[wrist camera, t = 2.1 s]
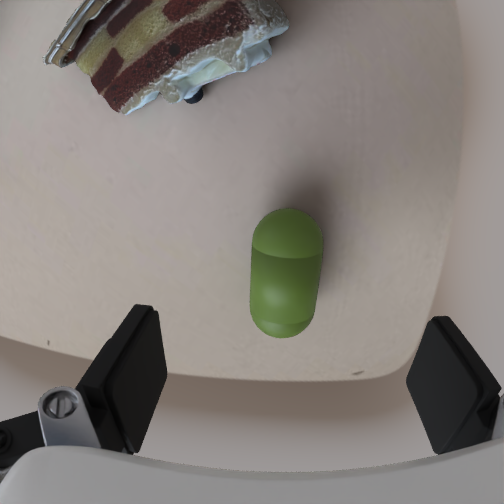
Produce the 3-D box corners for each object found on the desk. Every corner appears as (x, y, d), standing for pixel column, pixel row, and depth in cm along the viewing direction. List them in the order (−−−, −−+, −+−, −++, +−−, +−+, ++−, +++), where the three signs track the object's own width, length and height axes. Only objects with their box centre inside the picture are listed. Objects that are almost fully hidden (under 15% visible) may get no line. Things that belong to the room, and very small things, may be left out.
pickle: (272, 198, 15) (239, 211, 13) (335, 208, 14) (314, 224, 11) (266, 309, 18) (237, 338, 15) (318, 325, 16) (296, 359, 14)
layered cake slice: (108, 164, 15) (256, 100, 6) (38, 72, 11) (100, -103, 2) (218, 79, 19) (379, 18, 10) (164, 3, 15) (300, -101, 6)
